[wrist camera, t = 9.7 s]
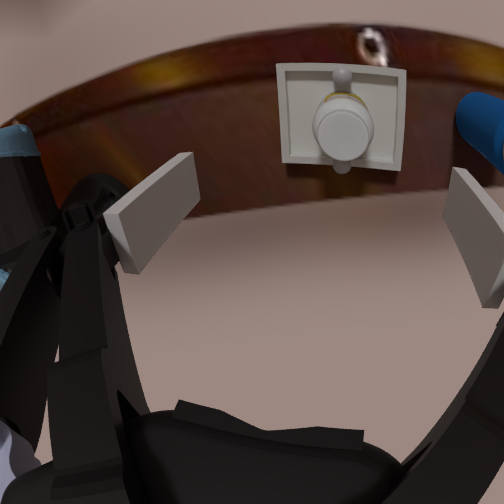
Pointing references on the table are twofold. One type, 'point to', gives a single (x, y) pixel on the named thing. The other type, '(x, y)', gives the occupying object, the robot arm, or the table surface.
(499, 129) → the beverage can
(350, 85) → the tray
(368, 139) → the supplement bottle
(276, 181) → the table surface
